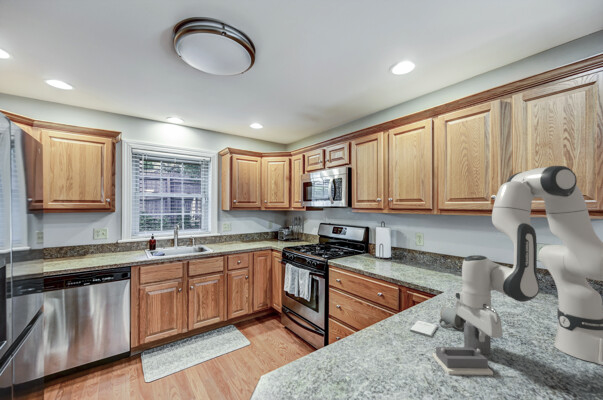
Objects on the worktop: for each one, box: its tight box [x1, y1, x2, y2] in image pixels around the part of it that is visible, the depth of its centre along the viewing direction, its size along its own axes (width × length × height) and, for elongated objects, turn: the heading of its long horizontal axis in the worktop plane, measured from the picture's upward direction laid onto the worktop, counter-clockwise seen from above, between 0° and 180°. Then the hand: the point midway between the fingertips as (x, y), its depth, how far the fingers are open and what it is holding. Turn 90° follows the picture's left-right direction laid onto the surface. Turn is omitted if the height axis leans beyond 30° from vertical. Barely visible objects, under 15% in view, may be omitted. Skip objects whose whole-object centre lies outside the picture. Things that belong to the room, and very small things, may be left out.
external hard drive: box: [409, 320, 438, 338], centre depth 111 cm, size 2×8×12 cm
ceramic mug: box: [438, 306, 467, 330], centre depth 115 cm, size 11×8×8 cm
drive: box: [463, 322, 492, 355], centre depth 93 cm, size 8×2×10 cm, turn 89°
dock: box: [432, 346, 494, 376], centre depth 85 cm, size 14×10×5 cm
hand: (477, 338), depth 93 cm, fingers closed on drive, 2 cm apart
